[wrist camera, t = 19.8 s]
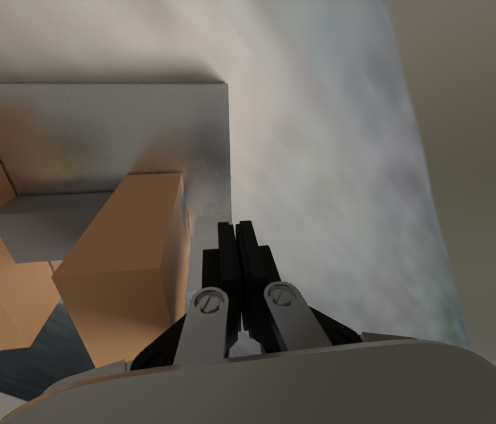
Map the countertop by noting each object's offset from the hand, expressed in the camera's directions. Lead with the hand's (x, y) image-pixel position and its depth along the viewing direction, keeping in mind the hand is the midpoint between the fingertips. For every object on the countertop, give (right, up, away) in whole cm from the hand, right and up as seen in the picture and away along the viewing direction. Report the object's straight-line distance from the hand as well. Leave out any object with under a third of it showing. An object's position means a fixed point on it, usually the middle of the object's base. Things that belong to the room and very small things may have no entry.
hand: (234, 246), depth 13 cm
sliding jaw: (-9, +1, +2) cm, 9 cm away
